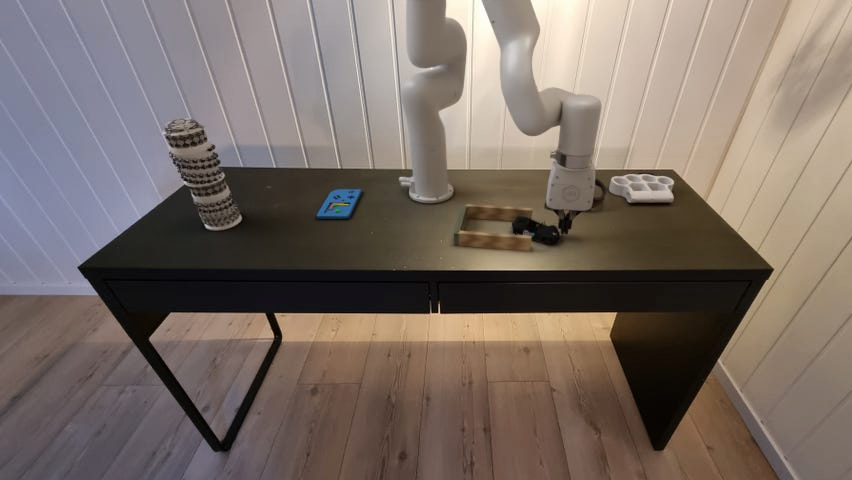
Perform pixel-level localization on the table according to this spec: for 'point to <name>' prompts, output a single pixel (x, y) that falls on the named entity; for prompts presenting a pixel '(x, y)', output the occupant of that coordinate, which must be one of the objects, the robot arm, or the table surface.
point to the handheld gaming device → (339, 204)
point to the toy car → (536, 230)
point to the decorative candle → (202, 173)
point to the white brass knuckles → (643, 188)
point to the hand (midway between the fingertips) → (563, 231)
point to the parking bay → (491, 238)
